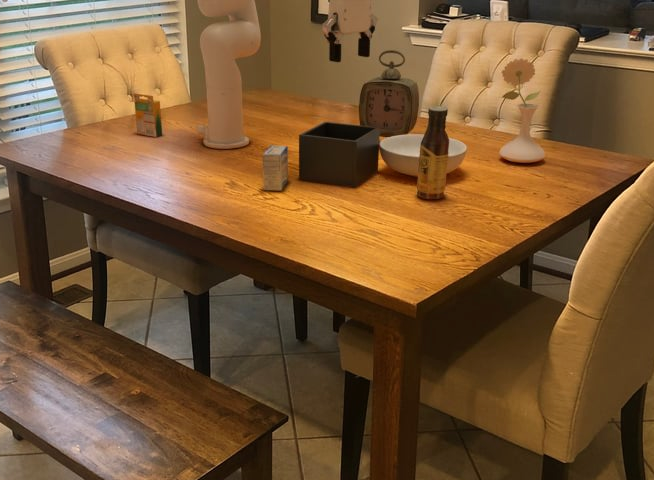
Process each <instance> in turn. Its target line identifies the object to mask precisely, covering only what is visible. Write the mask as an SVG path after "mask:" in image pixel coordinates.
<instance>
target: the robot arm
mask: <svg viewBox="0 0 654 480" xmlns="http://www.w3.org/2000/svg"><path fill="white" fill-rule="evenodd" d="M371 1H372V0H329V2H328V14H327V19H326V21H324V22H323V23H322V24H321V28H322V31H323V33H324V34H323V35H324V37H325V39H326V40H327V41H326V42H327V43H328V44H329V45H328V46H329V49H328V50H329V51H328V53H329V54H328V56H329V57H328V59H329V62H333V63H341V62H342V44H341V43H340V42H341V40H342V38H343V36H344V35H350V34H358V35H359V37H358V41H357V56H358V57H362V58H363V57H364V58H369V57H370V56H371V55H370V54H371V40H372V39H373V34H374V32H375V30H376V26H377V23H378V17H377V16H376V15H374V14H373V13H372V2H371ZM196 2H197V6H198V9H199V11H200V12H201V14H202V15H203V16H205V17H207V18H220V17H221V18H222V17H227V16H228V19H229V20H227V21H219V22H215V23H212V24H209V25H208V26H206V27H205V28H204V29H203V30H202V32H201V33H200V38H199V46H200V50H201V55H202V61H203V67H204V74H205V87H206V88H205V89H206V107H207V125H204V124H199V125H198V128H197V134H199V135H205V137H204V139H203V145H204V146H206V147H208V148H211V149H219V150H230V149H231V150H232V149H239V148H243V147H246V146H247V145H249V144H250V138H249V137H248V136H246V135H245V134H244V113H243V112H244V111H243V84H242V82H243V81H242V74H241V70H240V69H239V67H238V64H237V62H236V59H241V58H246V57H247V58H248V57H251V56H253V55H254V54H256V53H257V52H258V50H259V49H260V46H261V43H262V42H261V41H262V35H261V33H262V32H261V27H260V22H259V15H258V11H257V6H256V1H255V0H196Z"/></svg>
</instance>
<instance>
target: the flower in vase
mask: <svg viewBox="0 0 654 480" xmlns="http://www.w3.org/2000/svg"><path fill="white" fill-rule="evenodd" d="M501 75H502V77H503V82H504V83H505V82H506V83H507V84H510V85H512V86H513V85H514V86H518V92H516V91H515V90H510V91H507V92H506V93H505V94H503V95H502V96H501V98H502V99H507V100H511V101H514V100H516V99H518V97H520V98H521V101H522V103H519V104H517V107H518V109H519V112H520V130H519V133H518V135H517V136H516V137H515V138H513V139H512V140H510V141H509V142H507V143H506V144H505V145H503V146H502V147H501V148H500V150H499V152H498V153H499V156H500V157H501V158H502V159H504V160H506V161H509V162H513V163H520V164H521V163H523V164H530V163H536V162H540V161H542V160H543V159H544V158H545V157H546V152H545V150H544V149H543V148H542V147H541V146H540V145H539V144H538V142H536V141H535V139H533V137H532V135H531V131H530V130H531V123H532V119H533V116H534V114H535V112H536V111H537V109H538V108H539V105H538V104H534V103H526V102H527V101H532V100H535V99H536V98H538V96H539V95H540V93H541V90H539V91H536V92H533V93H530V94H527V96H526V97H525V98H523V95H522V94H521V85H523V84H525V83H529V82H530V81H531V79H533V77H534V76H535V75H536V69H535V65H534V62H533V61H529V59H527V58H526V59H525V58H519V59H518V58H514V59H513V61H511V60H510V61H509V62H508V63H507V64H506V65H505V66H504V68H503V69H502V70H501ZM520 84H521V85H520Z"/></svg>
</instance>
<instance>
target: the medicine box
mask: <svg viewBox="0 0 654 480" xmlns="http://www.w3.org/2000/svg"><path fill="white" fill-rule="evenodd" d="M261 156H262V157H261V158H262V159H261V161H262V187H263V191H271V192H282V191H283V189H284V188H285V186H286V185H287V183H288V182H289V147H288V146H287V145H282V144H281V145H279V144H278V145H277V144H275V145H273V144H272V145H269V147H267V149H266V150H265V151H264V152H263V153H262V155H261Z"/></svg>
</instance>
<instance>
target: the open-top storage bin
mask: <svg viewBox="0 0 654 480" xmlns="http://www.w3.org/2000/svg"><path fill="white" fill-rule="evenodd" d="M380 137H381V136H380V128H379V127H369V126H360V124H351V123H350V124H349V123H341V122H332V121H323V122H322V123H319V124H317V125H316V126H314V127H312V128H310V129H308V130H305V131H304V132H301V133H299V134H298V180H299V181H306V182H312V183H319V184H326V185H333V186H339V187H340V186H342V187H348V188H353V189H354V188H357V187H358V186H360V185H361V184H363V183H364V182H365V181H367V180H368V179H370V178H371V177H372V176H374V175H375V174H377V173H378V172H379V158H380V156H379V155H380Z"/></svg>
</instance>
